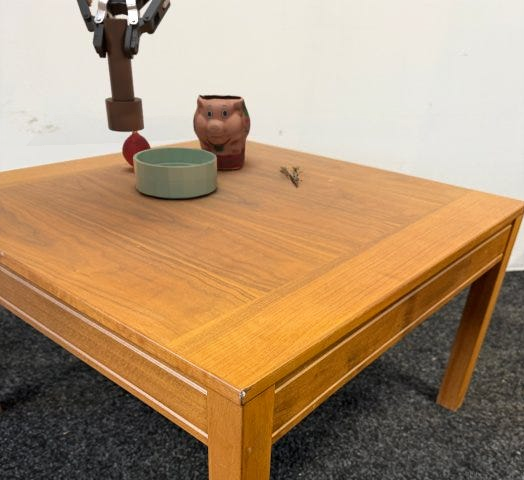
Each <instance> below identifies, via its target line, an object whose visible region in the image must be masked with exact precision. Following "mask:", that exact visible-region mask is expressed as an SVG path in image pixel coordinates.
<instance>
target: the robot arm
mask: <svg viewBox="0 0 524 480" xmlns="http://www.w3.org/2000/svg"><path fill="white" fill-rule="evenodd" d="M150 1H151V2H150ZM76 2H77V5H78V8H79V11H80V15H81V17H82V20H83V22H84V25H85V26H86V30H87V31H88V32H89V33H93V36H92V45H93V49H94V52H95V53H96V54H97V55H98V56H99V58H100V59H106V58H107V49H106V40H105V32H104V23H103V19H104V18H117V16H121V15H122V16H127V17H128V25H127V29H126V37H125V46H124V48H125V53H126V56H127V58H128V59H131V60H134V57H135V56H137V55H138V54H139V49H140V41H141V37H142V36H143V34H146V33H147V35H153V34H155V32H156V30H157V29H158V28H159V25H160V24H161V23H162V20H164V17H165V15H166V14H167V12H168V11H169V9H170V7H171V5H172V3H171V0H98V1H97V9H96V14H95V15H93V13H92V12H91V9H90V8H91V7H92V5H93V4H92V3H93V0H76ZM148 3H149V5H148V6H147V4H148ZM145 6H147V8H146V9H145V11H144V13H143V15H142V17H141V11H142V9H143V8H144V7H145Z"/></svg>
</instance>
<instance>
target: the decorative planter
mask: <svg viewBox="0 0 524 480" xmlns="http://www.w3.org/2000/svg"><path fill="white" fill-rule="evenodd" d="M196 105H197V106H196V110H195V112H194V115H193V118H192V119H193V120H192V126H193V132H194V134H195V135H196V137H197V139H198V141H199V145H200V146H199V147H200V149H202V150H206V151H209V152H212V153H213V154H215V155H216V157H217V170H237V169H241V168H243V166H244V164H245V158H246V143H247V138H248V136H249V134H250V131H251V117H250V114H249V111H248V108H247V106H246V103H245V99H244V98H243V96H240V95H230V94H228V95H227V94H226V95H225V94H224V95H223V94H222V95H221V94H204V95H202V94H198V96H197V100H196Z"/></svg>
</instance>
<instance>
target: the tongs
mask: <svg viewBox="0 0 524 480" xmlns="http://www.w3.org/2000/svg"><path fill="white" fill-rule="evenodd" d="M280 169H281V170H282V172H283V173H284V174H285V175H286V176H288V177H289V178H290V179H291V180H292V181H293V182H294V184H295V187H296V188H298V186H299V180H298V175H299V170H300V169H301V167H300V166H292V169H293V171H294V172H295V174H294V175H293V174H292V173H290V171H289V170H288V168H287V165H285V166H280Z"/></svg>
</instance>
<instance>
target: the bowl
mask: <svg viewBox="0 0 524 480" xmlns="http://www.w3.org/2000/svg"><path fill="white" fill-rule="evenodd" d="M133 162H134V167H133V172H134V183H135V184H134V185H135V188H136V189H137V191H138V192H139V193H143V194H145V195H147V196H152V197H155V198H160V199H170V200H178V199H179V200H180V199H192V198H197V197H201V196H205V195H208V194H210V193H213V192H214V191H216V189H217V188H218V169H217V157H216V155H215V154H213V153H212V152H209V151H206V150H202V149H201V148H196V147H195V148H194V147H186V146H185V147H183V146H167V147H155V148H151V149H148V150H144V151H141V152H138V153H136V154H135V155H134V157H133Z"/></svg>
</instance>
